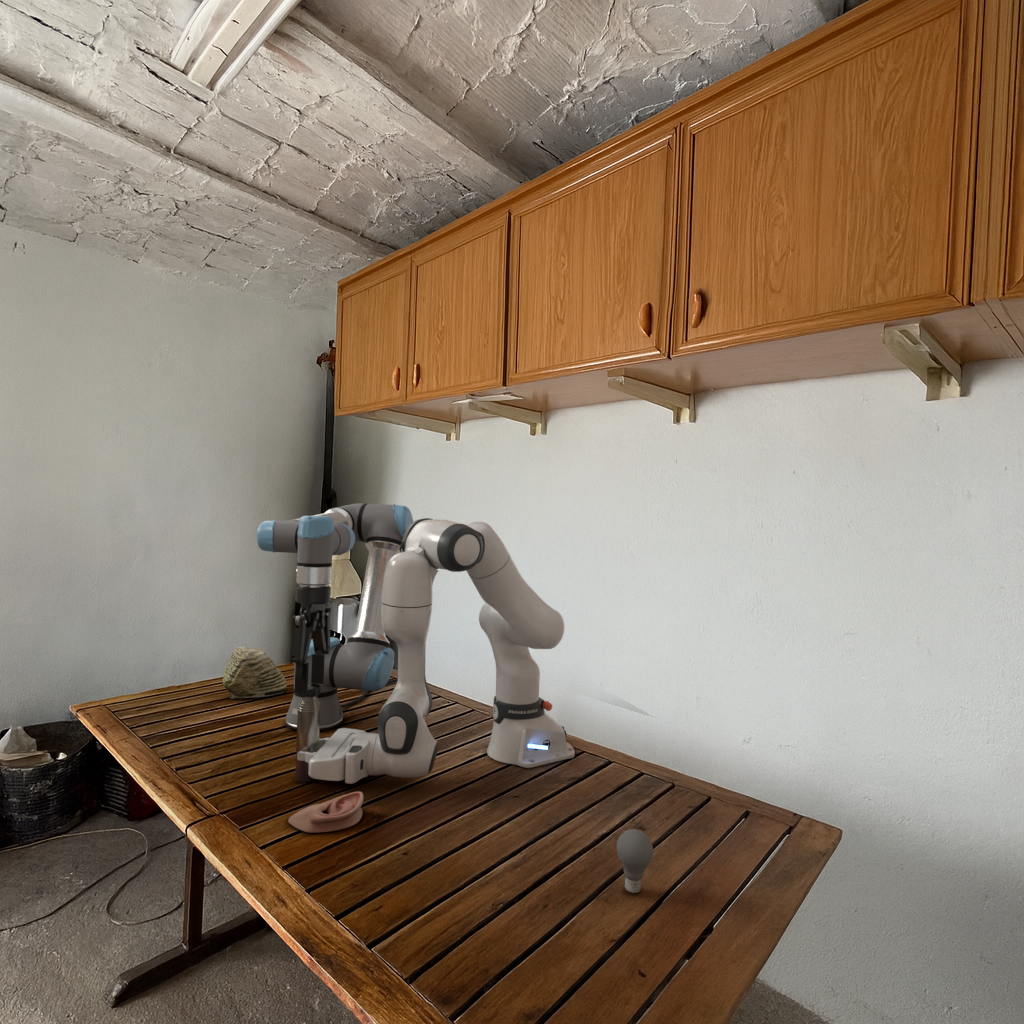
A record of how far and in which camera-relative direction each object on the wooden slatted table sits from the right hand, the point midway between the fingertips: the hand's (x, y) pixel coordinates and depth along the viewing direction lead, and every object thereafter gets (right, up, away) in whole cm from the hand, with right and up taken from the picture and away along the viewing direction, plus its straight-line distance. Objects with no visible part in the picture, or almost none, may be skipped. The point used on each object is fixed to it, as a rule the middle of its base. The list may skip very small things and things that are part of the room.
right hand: (303, 749), depth 142 cm
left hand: (+1, +14, -1) cm, 14 cm away
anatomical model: (+10, -7, -18) cm, 22 cm away
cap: (+1, +14, 0) cm, 14 cm away
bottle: (+1, -6, 0) cm, 6 cm away
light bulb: (+67, -10, -36) cm, 77 cm away
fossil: (-34, -4, +56) cm, 65 cm away
